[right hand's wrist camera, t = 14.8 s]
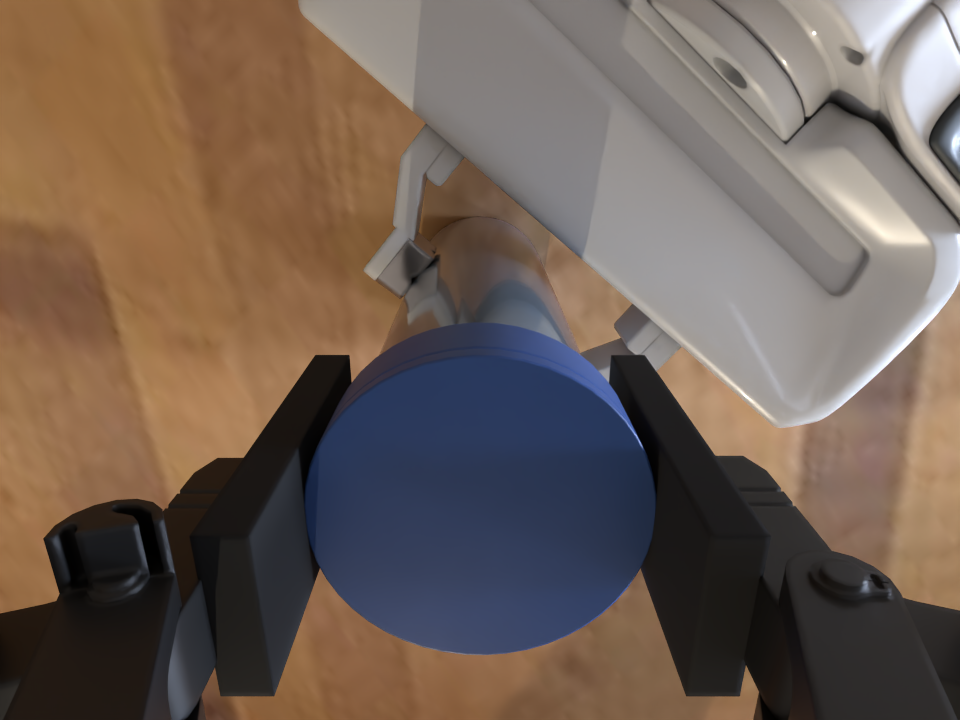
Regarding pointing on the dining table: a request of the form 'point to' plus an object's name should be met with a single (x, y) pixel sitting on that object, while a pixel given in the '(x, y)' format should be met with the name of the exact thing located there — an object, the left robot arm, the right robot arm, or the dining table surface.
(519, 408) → the lid
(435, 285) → the jar
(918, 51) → the left robot arm
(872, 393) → the dining table surface
